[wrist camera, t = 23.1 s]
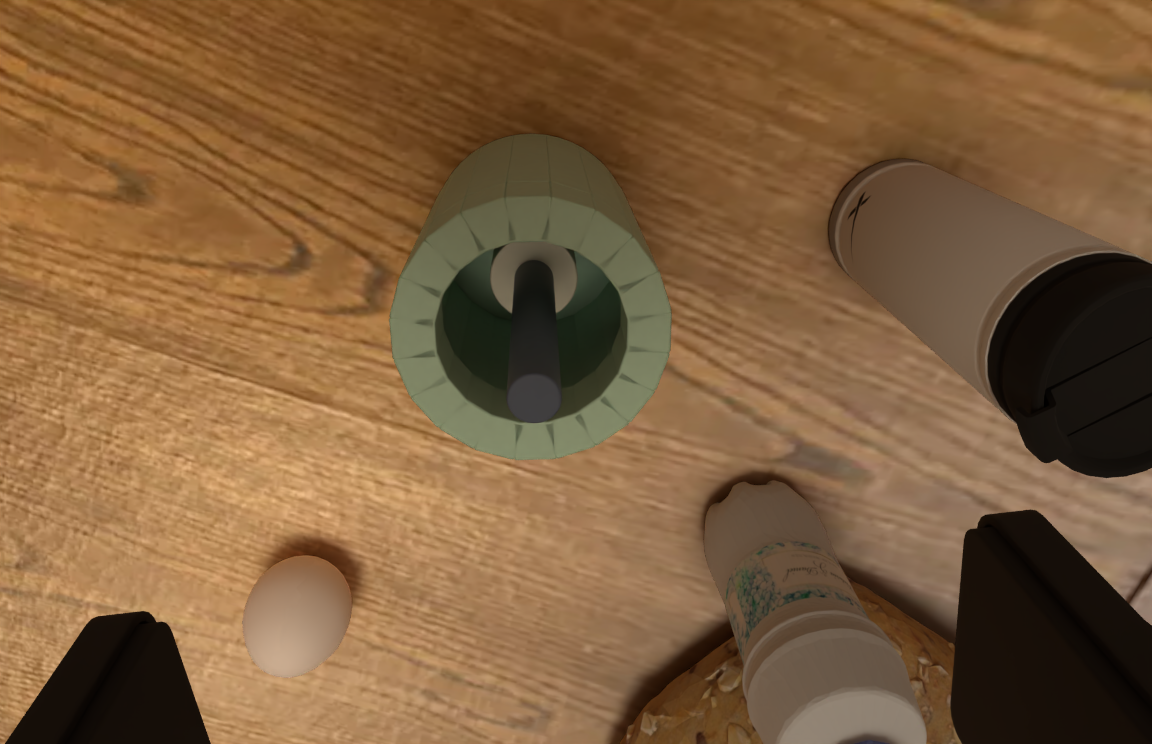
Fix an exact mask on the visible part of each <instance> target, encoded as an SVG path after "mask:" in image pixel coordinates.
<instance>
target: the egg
mask: <svg viewBox="0 0 1152 744" xmlns="http://www.w3.org/2000/svg"><path fill="white" fill-rule="evenodd" d="M351 611H352V598H351V592H350V588H349V585H348V583H347V581H346V579H345V578H344V576H343V574H342V573H341V572H340V571H339V570H338V569H337V568H336V567H335V566H334V565H332V564H331V563H330V562H328V561H326V560H324V559H321V558H319V557H316V556H309V555H304V556H294V557H291V558H287V559H285V560H283V561H280V562H278V563H276V564H275V565H273V566H272V567H271V568H269V569H268V570H267V571H266V572H265V573H264V574H263V575H262V576H261V577H260V578H259V579H258V581H257V582H256V584H255V585H254V587H253V589H252V591H251V593H250V595H249V597H248V600H247V603H246V605H245V609H244V615H243V621H242V624H243V635H244V639H245V644H246V648H247V650H248V652H249V654H250V656H251V658H252V660H253V662H254V663H255V664H256V665H257V666H258V667H259V668H260V669H261V670H263V671H264V672H266V673H268V674H270V675H273V676H276V677H284V678H289V677H297V676H300V675H303V674H305V673H307V672H309V671H311V670H313V669H315V668H317V667H318V666H319V665H320V664H322V663H323V662H324V661H325V660H326V659H328V658H329V657H330V656H331V655H332V654H333V653H334V652H335V650H336V649H337V648H338V646H339V645H340V643H341V641H342V639H343V637H344V635H345V633H346V630H347V628H348V625H349V621H350V618H351Z"/></svg>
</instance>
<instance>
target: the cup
mask: <svg viewBox="0 0 1152 744" xmlns="http://www.w3.org/2000/svg"><path fill="white" fill-rule="evenodd" d="M513 242H547V243H551V244H554V245H557V246H561V247H564V248H567V249H571V250H574V253H575V260H576V266H577V272H578V282H577V287H576V291H575V293H574V295H573V297H572V299H571V301H570V302H569V303H568V304H567V305H566V307H565V308H563V309H562V310H561V311H560V312H558V313H556V320H557V335H558V349H559V363H560V377H561V391H562V402H561V406H560V408H559V410H558V411H557V413H556V414H555V415H554V416H553V417H552V418H550V419H549V420H547V421H544V422H541V423H527V422H524V421H522V420H520V419H518V418H517V417H515V416H514V415H513V414H512V413H511V411H510V410H509V408H508V405H507V401H506V395H507V380H508V365H509V350H510V336H511V321H512V313H510V312H509V311H507V310H506V309H505V308H503V307H502V305H501V304H500V303H499V302H498V301H497V299H496V297H495V296H494V294H493V291H492V288H491V284H490V270H491V264H492V257H493V251H494V249H495V248H498V247H501V246H504V245H507V244H510V243H513ZM671 319H672V313H671V307H670V304H669V300H668V297H667V294H666V291H665V287H664V284H663V281H662V278H661V274H660V272H659V269H658V267H657V265H656V263H655V261H654V258H653V256H652V254H651V252H650V250H649V247H648V245H647V243H646V241H645V239H644V236H643V234H642V232H641V230H640V228H639V225H638V223H637V221H636V219H635V217H634V214H633V212H632V210H631V208H630V206H629V203H628V201H627V199H626V197H625V195H624V192H623V190H622V189H621V188H620V186H619V185H618V183H617V182H616V180H615V178H614V177H613V175H612V174H611V173H610V172H609V170H608V169H607V168H606V167H605V165H604V164H602V163H601V162H600V161H599V160H598V159H597V158H596V157H595V156H594V155H592V154H591V153H589V152H588V151H587V150H585V149H584V148H582V147H580V146H578V145H576V144H574V143H572V142H570V141H567V140H564V139H562V138H559V137H554V136H549V135H543V134H518V135H513V136H508V137H504V138H501V139H498V140H495V141H492V142H490V143H488V144H486V145H484V146H482V147H480V148H479V149H477V150H476V151H474V152H473V153H472V154H470V155H469V156H468V157H467V158H466V159H464V160H463V161H462V162H461V163H460V164H459V165H458V166H457V168H455V170H454V171H453V172H452V174H451V175H450V177H449V178H448V180H447V181H446V183H445V185H444V187H443V188H442V190H441V191H440V193H439V194H438V197H437V199H436V201H435V203H434V205H433V207H432V209H431V211H430V213H429V216H428V218H427V220H426V222H425V224H424V226H423V228H422V230H421V232H420V234H419V237H418V239H417V241H416V243H415V245H414V247H413V249H412V251H411V253H410V256H409V258H408V260H407V262H406V264H405V266H404V268H403V271H402V273H401V275H400V277H399V280H398V284H397V288H396V292H395V296H394V300H393V304H392V308H391V312H390V319H389V322H390V333H391V344H392V355H393V359H394V362H395V364H396V367H397V369H398V371H399V373H400V376H401V378H402V380H403V382H404V385H405V387H406V389H407V391H408V393H409V395H410V396H411V399H412V400H413V401H414V402H415V403H416V404H417V405H418V407H419V408H420V409H421V410H422V411H423V412H424V413H425V414H426V415H427V416H428V418H429V419H430V420H431V421H432V422H433V423H434V424H435V425H436V426H437V427H439V428H440V429H441V430H442V431H444V432H446V433H447V434H449V435H451V436H452V437H454V438H456V439H457V440H459V441H461V442H463V443H464V444H466V445H468V446H469V447H471V448H475V450H478V451H482V452H486V453H490V454H493V455H497V456H501V457H505V458H509V459H514V458H515V460H535V459H556V458H561V457H564V456H567V455H570V454H573V453H576V452H579V451H583V450H586V449H589V448H592V447H595V445H598V444H600V443H601V442H603V441H604V440H606V439H607V438H609V437H610V436H612V435H613V434H615V433H616V432H617V431H619V430H620V429H622V428H623V427H625V426H626V425H628V424H629V422H631V421H632V420H633V419H634V417H635V416H636V415H637V414H638V412H639V411H640V410H641V409H642V407H643V406H644V405H645V404H646V402H647V401H648V400H649V399H650V398H651V396H652V395H653V394H654V392H655V390H656V389H657V386H658V384H659V381H660V378H661V376H662V373H663V370H664V368H665V365H666V363H667V360H668V357H669V352H670V348H671Z"/></svg>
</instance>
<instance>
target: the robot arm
mask: <svg viewBox="0 0 1152 744" xmlns="http://www.w3.org/2000/svg"><path fill="white" fill-rule="evenodd" d="M950 710H951V717H952V721H953V725H954V728H955V731H956V734H957V736H958V738H959V740H960V741H961V743H962V744H1152V626H1151V625H1150V624H1149V623H1148V622H1146V621H1145V620H1144V619H1143V618H1142V617H1141V616H1140V615H1139V614H1138V613H1137V612H1136V611H1135V610H1134V609H1133V608H1132V607H1131V606H1130V605H1129V604H1128V603H1127V602H1126V601H1125V600H1124V599H1123V597H1122V596H1121V595H1120V594H1119V593H1118V592H1117V591H1116V590H1115V589H1114V588H1113V587H1112V586H1111V585H1110V584H1109V583H1108V582H1107V581H1106V580H1105V579H1104V578H1103V577H1102V576H1101V575H1100V574H1099V573H1098V572H1097V571H1096V570H1095V569H1094V568H1093V567H1092V566H1091V565H1090V564H1089V563H1088V561H1087V560H1086V559H1085V558H1084V557H1083V556H1082V555H1081V554H1080V553H1079V552H1078V551H1077V550H1076V549H1075V548H1074V547H1073V546H1072V545H1071V544H1070V543H1069V542H1068V541H1067V540H1066V539H1065V538H1064V537H1063V536H1062V535H1061V534H1060V533H1059V532H1058V531H1057V530H1056V529H1055V528H1054V527H1053V526H1052V524H1051V523H1050V522H1049V521H1048V520H1047V519H1046V518H1045V517H1044V516H1043V515H1041V514H1040V513H1039V512H1037V511H1035V510H1023V511H1015V512H1006V513H997V514H988V515H984V516H983V517H981V519H980V521H979V522H978V527H977V529H970V530H968V531H967V532H966V534H965V538H964V546H963V558H962V570H961V581H960V593H959V605H958V617H957V629H956V641H955V653H954V665H953V677H952V689H951V701H950ZM5 744H211V743H210V740H209V737H208V734H207V732H206V729H205V726H204V723H203V720H202V717H201V714H200V711H199V708H198V706H197V703H196V700H195V697H194V694H193V691H192V688H191V685H190V683H189V680H188V677H187V674H186V671H185V668H184V665H183V662H182V659H181V657H180V654H179V651H178V648H177V645H176V642H175V639H174V636H173V633H172V631H171V629H170V627H169V626H168V625H167V623H165V622H156V621H155V619H154V617H153V616H152V615H151V614H150V613H149V612H145V611H141V612H132V613H123V614H114V615H106V616H98V617H95V618H93V619H91V620H90V621H89V622H88V623H87V624H86V626H85V627H84V629H83V630H82V632H81V633H80V635H79V636H78V638H77V639H76V640H75V642H74V643H73V645H72V646H71V648H70V649H69V651H68V652H67V654H66V655H65V657H64V658H63V660H62V661H61V662H60V664H59V665H58V667H57V668H56V670H55V671H54V673H53V674H52V676H51V677H50V679H49V680H48V681H47V683H46V684H45V686H44V687H43V689H42V690H41V692H40V693H39V695H38V696H37V698H36V699H35V700H34V702H33V703H32V705H31V706H30V708H29V709H28V711H27V712H26V714H25V715H24V717H23V718H22V720H21V721H20V722H19V724H18V725H17V727H16V728H15V730H14V731H13V733H12V734H11V736H10V737H9V739H8V740H7V741H6V743H5Z"/></svg>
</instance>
